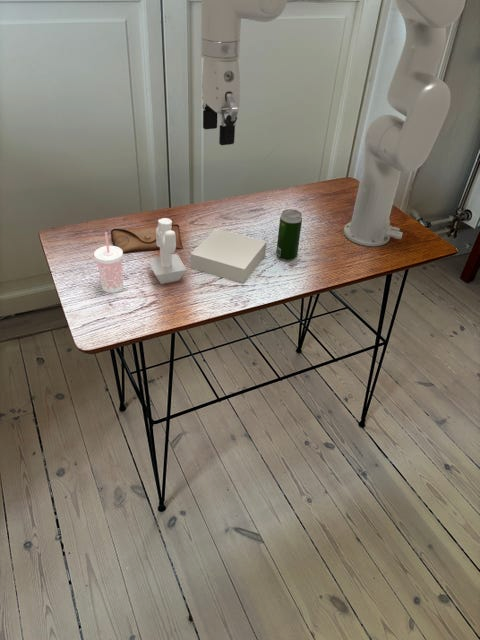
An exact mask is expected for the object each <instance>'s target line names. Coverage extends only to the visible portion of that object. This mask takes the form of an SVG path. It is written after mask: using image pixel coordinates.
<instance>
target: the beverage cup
mask: <svg viewBox="0 0 480 640" xmlns="http://www.w3.org/2000/svg"><path fill="white" fill-rule="evenodd" d="M104 235H105V236H104V238H105V245H103V246H101V247H98V248H97V249H95V251H94V252H93V255H94V260H95V261H96V265H97V269H98V272H99V276H100V277H99V278H100V282H101V288H102V290H103V291H104V292H106V293H110V294H111V293H117V292H121V290H123V288H124V272H123V270H124V269H123V258H124V254H123V250H122V249H121V248H119V247H117V246H113V245H109V238H108V232H107V231H104Z"/></svg>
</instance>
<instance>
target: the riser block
mask: <svg viewBox="0 0 480 640" xmlns="http://www.w3.org/2000/svg"><path fill="white" fill-rule="evenodd" d="M266 251H267V241H265V240H262V239H259V238H255V237H251V236H246V235H243V234H240V233H235V232H231V231H228V230H225V229H220V228H217V227H216V228H214V230H213V231H211V233H210V234H208V235H207V236H206V237H205V238H204V239H203V241H201V243H200V244H198V246H196V248H195V249H193V251H192V252H190V257H189V258H190V269H193V270H197V271H201V272H203V273H207V274H210V275H213V276H216V277H221V278H224V279H227V280H230V281H234V282H237V283H241V284H245V282H246V281H247V280H248V278H249V277H250V276H251V274H253V272H254V271H255V270H256V268H257V267H258V265H259V264H260V263H261V261H262V260H263V259H264V258H265V256H266Z"/></svg>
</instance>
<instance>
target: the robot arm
mask: <svg viewBox="0 0 480 640" xmlns="http://www.w3.org/2000/svg"><path fill="white" fill-rule="evenodd" d="M341 1H343V0H201V2H200V4H201V6H200V7H201V8H200V9H201V11H200V15H201V16H200V17H201V18H200V20H201V21H200V23H201V24H200V30H201V31H200V57H201V58H203V60H202V61H203V62H202V73H201V74H202V75H201V77H202V78H201V79H202V80H201V83H202V84H201V91H202V92H201V95H202V97H201V98H202V101H203V103H202V128H203V130H214V129H217V128H218V115H219V119H220V123H221V124H220V125H219V139H218V140H219V141H218V143H219V145H220V146H227V145H235V134H236V132H235V131H236V128H235V127H236V125H237V120H238V113H239V111H240V100H241V99H240V97H241V94H240V93H241V90H240V89H241V85H240V83H241V81H240V79H241V78H240V66H239V59H240V46H241V28H242V27H241V25H242V24H241V23H242V19H243V20H250V21H254V22H259V23H260V22H261V23H267V22H272V21H274V20H276V19H278V18H279V17H280V16H281V15H282V13H284V11H285V9H286V6H287V4H288V3H298V2H304V3H305V2H306V3H313V4H332V3H333V4H334V3H338V2H341ZM395 2H396V3H395V4H396V7H397V10H398V11H399V13H400V15H401V16H402V19H403V22H404V27H405V41H404V44H403V47H402V51H401V54H400V57H399V60H398V62H397V64H396V68H395V70H394V73H393V76H392V78H391V81H390V84H389V87H388V90H387V95H386V96H387V97H386V99H387V102H388V104H389V106H390V107H391V108H392V109H393V110H395V111H396V112H398V113H399V114H401V115H403V116H404V117H405V120H404V119H402V118H400V117H398V116H396V115H392V114H384V115H380V116H378V117H376V118H375V119H374V120H372V121H371V123H369V126H368V128H367V129H366V133H365V138H364V156H363V164H362V171H361V175H360V180H359V184H358V189H357V193H356V194H357V195H356V198H355V203H354V209H353V212H352V217H351V220H350V221H349V222H348V223H346V224H345V225H344V227H343V234H344V237H346V238H347V239H348V240H350V242H353V243H354V244H355V243H356V244H357V245H361V246H366V247H380V246H383V245H385V244H387V243H388V242H389V241H390V239H391V238H393V239H397V240H402V237H403V233H404V232H403V231H401V230H400V228H399V227H395V226H392V225H390V224H391V220H390V215H391V212H392V209H393V205H394V201H395V197H396V194H397V188H398V186H399V183H400V179H401V178H400V177H401V173H405V174H406V173H411V172H414V171H417V170H418V169H419V168H421V166H422V165H423V164H424V163H425V162H426V160H427V159H428V157H429V155H430V153H431V151H432V149H433V146H434V145H435V143H436V140H437V138H438V136H439V133H440V131H441V130H442V127H443V124H444V122H445V120H446V118H447V116H448V113H449V110H450V106H451V96H452V95H451V90H450V88H449V86H448V85H447V84H446V82H444V81H443V80H442V79H440V78H439V77H436V73H437V70H438V67H439V66H440V65H439V64H440V61H441V59H442V56H443V53H444V50H445V46H446V41H447V27H449V26H451V25H453V23H455V22H456V21H457V20H458V18H460V16H461V14H462V12H463V11H464V8H465V5H466V0H395ZM225 115H226V117H225Z"/></svg>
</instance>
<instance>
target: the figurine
mask: <svg viewBox="0 0 480 640" xmlns="http://www.w3.org/2000/svg"><path fill="white" fill-rule="evenodd" d="M172 225H173V221H172V219H170V218H168V217H163V218H158V220H157V226H158V227H157V229H156V244H157V246H158V247H160V250H159V251H160V252H159V255H160V256H155V257H150V258H147V261H148V263H149V264H150V267H151V269H152V271H153V273H154V275H155V277H156V279H157V280H158V281H159V283H160V285H162V284H169V283H173V282H178V281H180V280H181V279H182V277H183V275H184V274H185V272H186V271H187V268H186V266H185V264H184V263H183V260H181V258H180V256H179V253H175V252H176V250H177V249H176V235H175V232H174V231H172V230H171V228H172Z"/></svg>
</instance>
